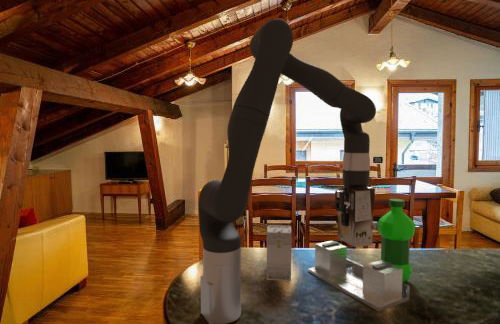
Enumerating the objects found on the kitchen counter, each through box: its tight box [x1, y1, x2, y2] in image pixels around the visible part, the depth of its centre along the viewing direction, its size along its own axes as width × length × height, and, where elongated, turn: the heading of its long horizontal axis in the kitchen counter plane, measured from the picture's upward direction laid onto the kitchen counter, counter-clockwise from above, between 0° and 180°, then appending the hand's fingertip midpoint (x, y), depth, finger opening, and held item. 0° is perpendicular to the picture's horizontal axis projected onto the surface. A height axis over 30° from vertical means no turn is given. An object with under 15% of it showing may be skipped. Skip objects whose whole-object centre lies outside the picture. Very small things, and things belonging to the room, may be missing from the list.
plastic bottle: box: [376, 198, 416, 283], centre depth 99 cm, size 10×10×25 cm
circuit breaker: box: [266, 224, 292, 282], centre depth 106 cm, size 8×14×15 cm, turn 174°
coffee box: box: [337, 185, 374, 248], centre depth 96 cm, size 9×6×16 cm
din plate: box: [307, 240, 411, 312], centre depth 97 cm, size 12×28×10 cm, turn 29°
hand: (354, 223), depth 96 cm, fingers closed on coffee box, 7 cm apart
